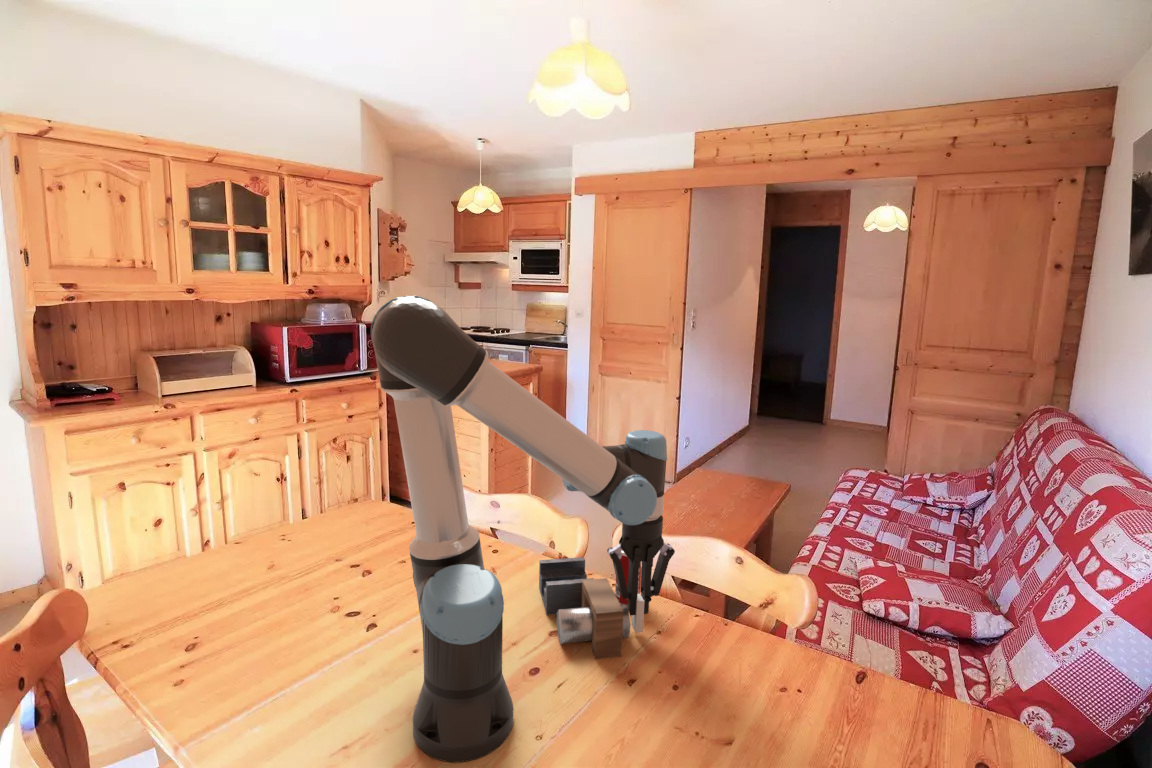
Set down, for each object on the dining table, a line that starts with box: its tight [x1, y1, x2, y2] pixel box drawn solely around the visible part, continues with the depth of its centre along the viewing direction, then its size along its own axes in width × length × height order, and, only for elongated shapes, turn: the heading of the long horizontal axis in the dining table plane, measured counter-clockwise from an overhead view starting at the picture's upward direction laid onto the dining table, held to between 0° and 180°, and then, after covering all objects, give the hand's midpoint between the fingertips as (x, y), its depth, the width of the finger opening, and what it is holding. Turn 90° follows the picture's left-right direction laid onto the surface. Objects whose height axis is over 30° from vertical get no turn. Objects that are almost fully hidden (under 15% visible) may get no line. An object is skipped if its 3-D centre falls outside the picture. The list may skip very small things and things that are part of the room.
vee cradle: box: [538, 556, 595, 616], centre depth 127 cm, size 11×10×6 cm
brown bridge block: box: [582, 578, 623, 660], centre depth 113 cm, size 12×5×9 cm, turn 12°
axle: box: [556, 604, 631, 645], centre depth 113 cm, size 6×13×6 cm, turn 101°
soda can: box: [614, 550, 642, 608], centre depth 126 cm, size 5×5×12 cm
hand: (637, 628), depth 115 cm, fingers closed
